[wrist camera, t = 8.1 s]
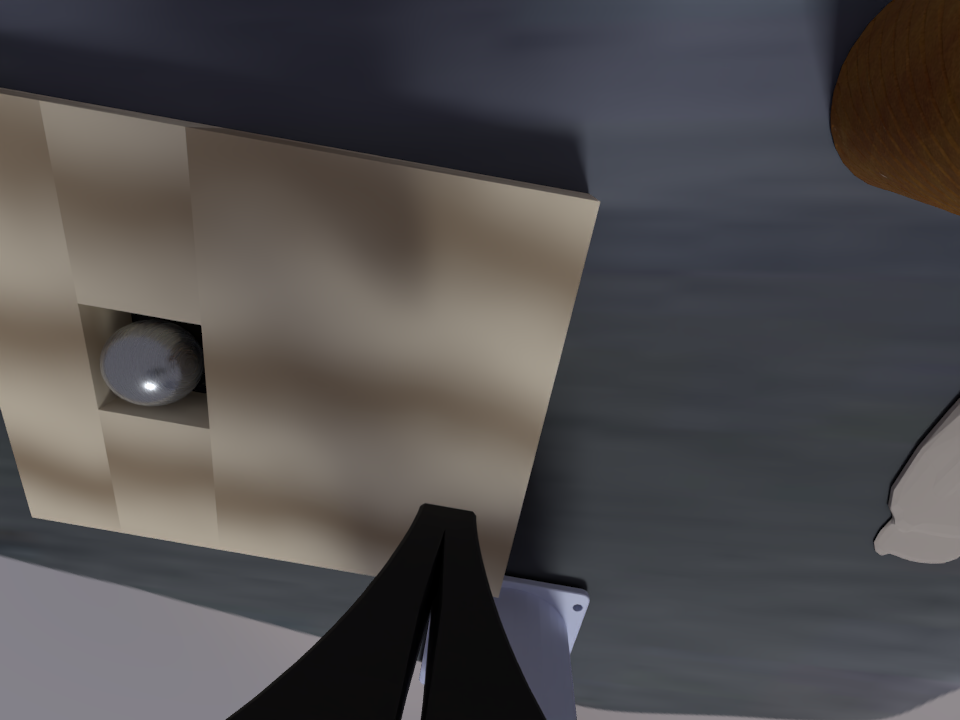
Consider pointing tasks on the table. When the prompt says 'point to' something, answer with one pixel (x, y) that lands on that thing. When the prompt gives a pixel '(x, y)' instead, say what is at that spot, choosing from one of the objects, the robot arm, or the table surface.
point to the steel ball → (151, 362)
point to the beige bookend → (927, 499)
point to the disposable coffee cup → (904, 103)
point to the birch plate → (276, 333)
